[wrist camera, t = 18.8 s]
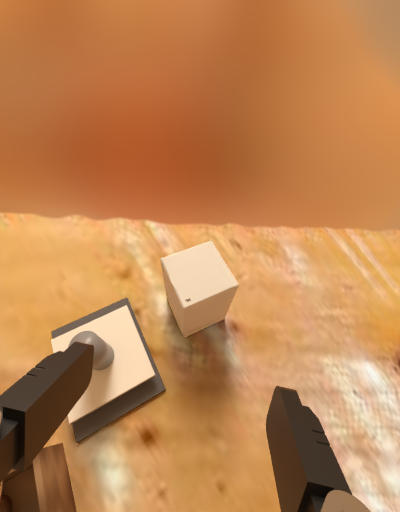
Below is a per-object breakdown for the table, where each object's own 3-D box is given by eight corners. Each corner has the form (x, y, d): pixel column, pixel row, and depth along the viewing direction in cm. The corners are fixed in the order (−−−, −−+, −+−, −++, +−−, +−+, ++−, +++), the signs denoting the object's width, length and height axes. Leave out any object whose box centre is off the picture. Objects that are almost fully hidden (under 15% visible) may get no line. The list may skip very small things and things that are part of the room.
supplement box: (226, 319, 46) (241, 285, 34) (183, 339, 44) (182, 311, 31) (205, 280, 50) (212, 238, 38) (165, 297, 48) (158, 257, 35)
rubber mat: (165, 389, 39) (165, 389, 39) (78, 441, 35) (76, 442, 35) (127, 298, 47) (126, 297, 47) (52, 332, 43) (51, 331, 43)
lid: (156, 376, 40) (148, 367, 31) (76, 422, 36) (40, 427, 27) (129, 309, 46) (115, 286, 37) (57, 343, 42) (23, 325, 33)
